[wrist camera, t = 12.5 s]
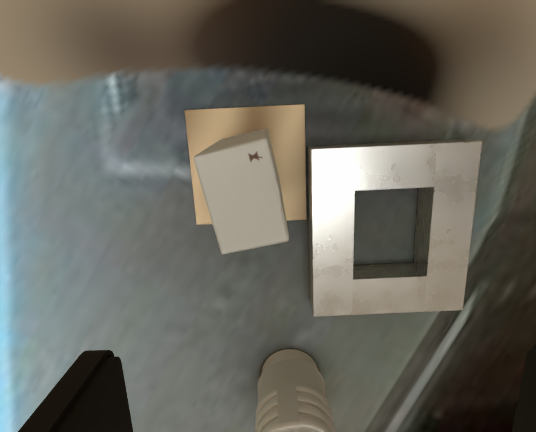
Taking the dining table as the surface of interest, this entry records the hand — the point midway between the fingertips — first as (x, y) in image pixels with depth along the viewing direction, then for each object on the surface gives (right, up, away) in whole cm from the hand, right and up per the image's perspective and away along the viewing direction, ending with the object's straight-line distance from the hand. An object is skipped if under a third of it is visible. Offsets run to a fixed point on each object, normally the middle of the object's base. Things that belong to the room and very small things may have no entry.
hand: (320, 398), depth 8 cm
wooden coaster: (-3, +9, +23) cm, 25 cm away
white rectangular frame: (+9, +3, +25) cm, 27 cm away
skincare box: (-3, +8, +23) cm, 25 cm away
